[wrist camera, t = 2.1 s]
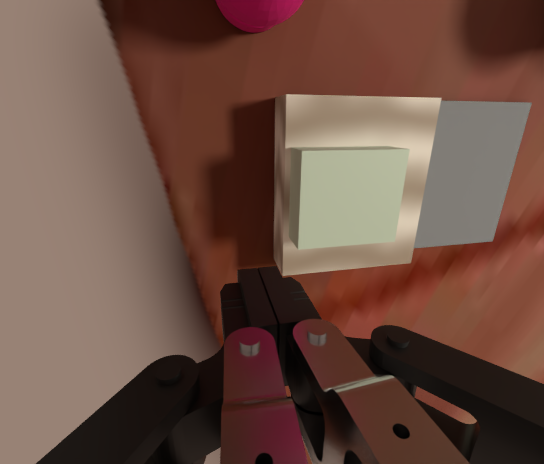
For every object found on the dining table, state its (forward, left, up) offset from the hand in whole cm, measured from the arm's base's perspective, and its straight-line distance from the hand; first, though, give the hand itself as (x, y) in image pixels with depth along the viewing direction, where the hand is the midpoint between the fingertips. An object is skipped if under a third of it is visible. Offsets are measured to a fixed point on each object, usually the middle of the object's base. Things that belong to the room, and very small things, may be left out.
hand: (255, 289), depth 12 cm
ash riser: (0, +12, -19) cm, 22 cm away
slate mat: (0, +26, -19) cm, 32 cm away
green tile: (0, +10, -15) cm, 18 cm away
